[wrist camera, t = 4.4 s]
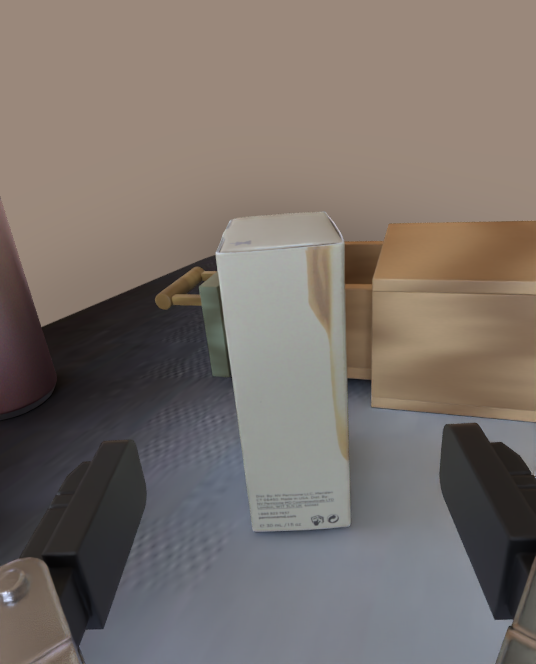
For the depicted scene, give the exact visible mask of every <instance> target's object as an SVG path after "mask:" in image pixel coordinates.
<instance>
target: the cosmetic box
mask: <svg viewBox="0 0 536 664" xmlns="http://www.w3.org/2000/svg"><path fill="white" fill-rule="evenodd" d="M216 262H217V269H218V277H219V285H220V292H221V300H222V307H223V315H224V322H225V330H226V337H227V345H228V352H229V359H230V367H231V374H232V381H233V388H234V395H235V403H236V410H237V417H238V425H239V433H240V441H241V447H242V455H243V462H244V470H245V477H246V485H247V493H248V500H249V507H250V515H251V523H252V529H253V531H254V532H266V531H292V530H294V531H295V530H313V529H325V528H337V527H348V526H350V524H351V496H350V466H349V427H348V392H347V354H346V311H345V242H344V239H343V237H342V234H341V233H340V231H339V229H338V228H337V226H336V225H335V223H334V222H333V220H332V219H331V218H330V217H329V215H328V214H327V213H326V212H306V213H291V214H279V215H266V216H253V217H241V218H235V219H233V220H230V222H229V224H228V226H227V228H226V230H225V231H224V233H223V237H222V240H221V242H220V244H219V247H218V249H217V251H216Z"/></svg>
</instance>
